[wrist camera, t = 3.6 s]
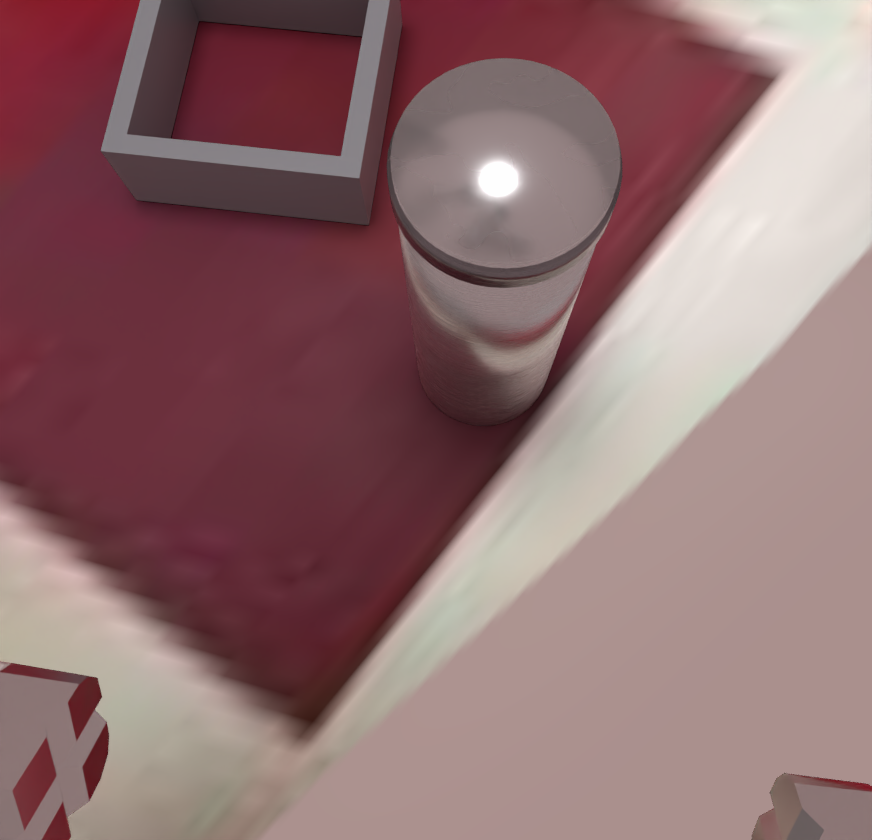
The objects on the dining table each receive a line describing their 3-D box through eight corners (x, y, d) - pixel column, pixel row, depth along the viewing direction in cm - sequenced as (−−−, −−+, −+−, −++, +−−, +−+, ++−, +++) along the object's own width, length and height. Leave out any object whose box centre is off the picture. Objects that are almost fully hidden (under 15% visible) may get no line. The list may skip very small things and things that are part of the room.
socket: (136, 200, 34) (100, 151, 30) (184, 3, 36) (156, -62, 33) (368, 225, 33) (359, 178, 30) (402, 24, 35) (396, -41, 32)
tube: (406, 419, 31) (369, 252, 17) (424, 292, 32) (403, 44, 19) (544, 436, 31) (615, 279, 17) (556, 306, 32) (633, 66, 18)
